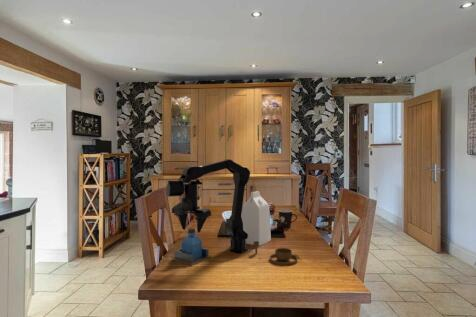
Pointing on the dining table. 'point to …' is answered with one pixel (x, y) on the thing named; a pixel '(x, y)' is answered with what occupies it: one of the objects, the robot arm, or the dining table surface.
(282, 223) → the coffee mug
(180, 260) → the grey square tray
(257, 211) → the milk
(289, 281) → the dining table surface
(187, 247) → the perfume bottle
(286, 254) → the place setting
